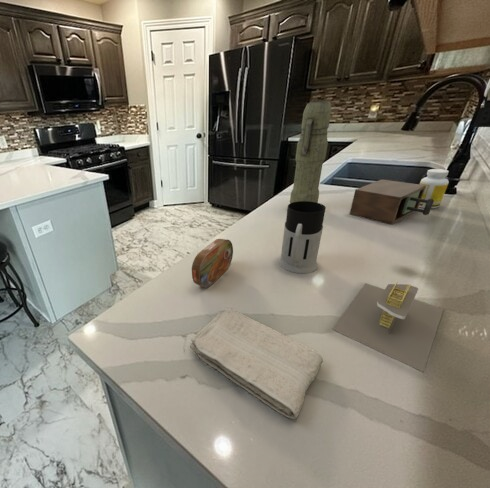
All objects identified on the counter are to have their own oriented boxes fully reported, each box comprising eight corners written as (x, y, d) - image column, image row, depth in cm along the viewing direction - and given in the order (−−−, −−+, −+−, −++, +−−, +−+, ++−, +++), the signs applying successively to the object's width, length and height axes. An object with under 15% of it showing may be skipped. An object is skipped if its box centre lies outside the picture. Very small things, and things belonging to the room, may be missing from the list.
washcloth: (224, 313, 52) (224, 301, 50) (324, 363, 40) (328, 349, 39) (186, 352, 45) (185, 339, 43) (294, 426, 33) (298, 412, 32)
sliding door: (435, 213, 79) (443, 193, 76) (425, 219, 76) (432, 199, 73) (411, 208, 83) (417, 190, 81) (401, 214, 81) (407, 195, 78)
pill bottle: (443, 206, 85) (458, 170, 80) (431, 210, 83) (445, 174, 78) (420, 201, 91) (432, 167, 85) (407, 205, 89) (419, 170, 84)
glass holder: (319, 258, 66) (330, 202, 59) (311, 290, 55) (324, 226, 49) (282, 252, 70) (289, 198, 63) (269, 280, 60) (275, 220, 53)
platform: (332, 329, 46) (339, 300, 43) (365, 283, 56) (373, 256, 53) (423, 372, 37) (441, 339, 34) (443, 308, 47) (458, 279, 44)
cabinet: (417, 211, 84) (426, 185, 80) (391, 224, 78) (400, 197, 74) (374, 202, 94) (381, 179, 90) (349, 214, 87) (355, 189, 83)
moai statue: (320, 205, 96) (340, 98, 80) (310, 216, 89) (330, 100, 73) (295, 202, 102) (308, 101, 86) (284, 212, 94) (296, 103, 78)
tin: (201, 294, 58) (200, 262, 54) (190, 289, 60) (188, 258, 56) (234, 263, 67) (234, 234, 64) (223, 260, 69) (223, 232, 66)
